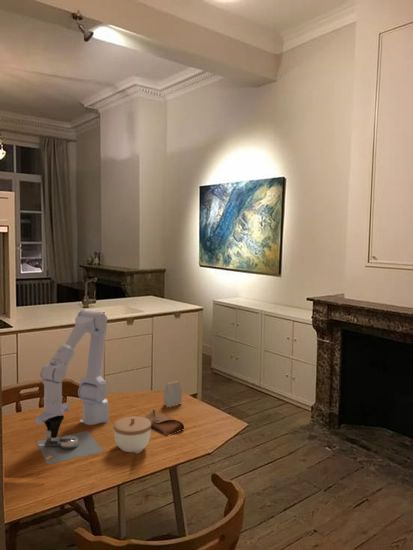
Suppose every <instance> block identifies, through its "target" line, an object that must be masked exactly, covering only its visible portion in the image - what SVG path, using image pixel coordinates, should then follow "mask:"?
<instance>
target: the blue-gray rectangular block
mask: <svg viewBox="0 0 413 550" xmlns="http://www.w3.org/2000/svg"><path fill="white" fill-rule="evenodd" d="M182 393H183V392H182V387H181V383H180V380H176V381H172V382H168V383H166V384H165V389H164V391H163V406H164V405H166V406H168V407H170V406H173V405H176V404H179V403H181V404H182V401H183V400H182V398H183V397H182V396H183V395H182ZM166 406H165V407H166ZM168 407H167V408H168ZM170 408H171V407H170Z"/></svg>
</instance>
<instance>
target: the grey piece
mask: <svg viewBox="0 0 413 550" xmlns="http://www.w3.org/2000/svg"><path fill="white" fill-rule="evenodd" d="M45 439H46V442H45V446H59V447H60V448H61V449H65V450H69V449H74V448H76V447H77V446H78V437H76V436H66V437H63V438H61V439H60V441H51V429H47V428H46V429H45Z"/></svg>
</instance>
